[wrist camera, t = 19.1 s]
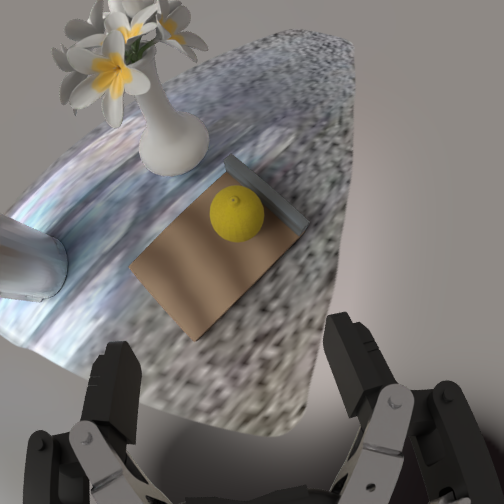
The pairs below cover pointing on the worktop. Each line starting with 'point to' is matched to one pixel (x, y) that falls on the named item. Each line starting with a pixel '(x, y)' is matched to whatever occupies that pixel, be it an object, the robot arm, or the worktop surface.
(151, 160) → the flower vase
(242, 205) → the lemon
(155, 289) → the stop board
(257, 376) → the worktop surface
